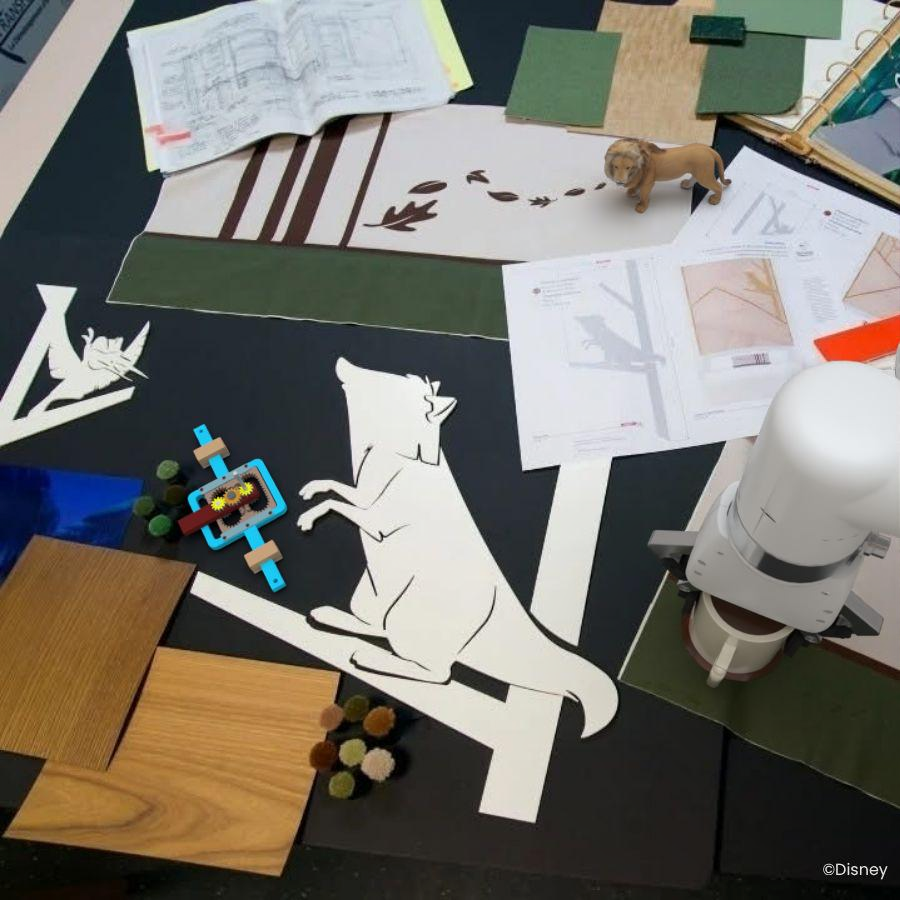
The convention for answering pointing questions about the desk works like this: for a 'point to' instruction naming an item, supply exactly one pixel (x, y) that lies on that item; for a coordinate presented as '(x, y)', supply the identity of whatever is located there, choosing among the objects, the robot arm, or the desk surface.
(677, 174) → the lion figurine
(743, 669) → the mug
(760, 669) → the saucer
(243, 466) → the gear mechanism
